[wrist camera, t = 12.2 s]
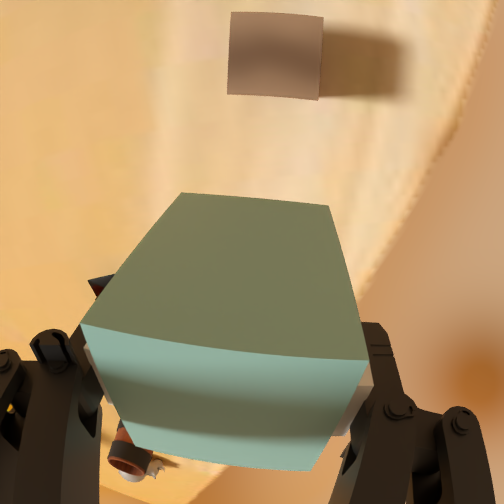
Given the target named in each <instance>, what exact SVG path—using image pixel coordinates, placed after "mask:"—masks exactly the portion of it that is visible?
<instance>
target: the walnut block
mask: <svg viewBox="0 0 504 504" xmlns="http://www.w3.org/2000/svg"><path fill="white" fill-rule="evenodd" d="M322 38H323V17H317V16H308V15H298V14H285V13H268V12H231V21H230V39H229V60H228V83H227V94H232V95H258V96H274V97H287V98H298V99H308V100H317V101H318V97H319V84H320V70H321V55H322Z"/></svg>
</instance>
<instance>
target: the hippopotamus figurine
mask: <svg viewBox="0 0 504 504" xmlns="http://www.w3.org/2000/svg"><path fill="white" fill-rule="evenodd" d="M161 468H162V469H163V470H164V471H165V467H164V466H163V462H162V461H161V460H159V459H155V460H154V461H150V463H149V466H148V468H147V471H146V474H144V475H143V476H135V475H131V474H128V473H125V472H123V471H120V470H119V473H120V475H121V476H122V477H123V478H124V479H126V480H127V481H130V482H139V481H141V480H143V479H144V477H145V476H146V475H149V476H153V478H154V479H156V477H155V476H156V475H157V474H158V472H159V470H161Z"/></svg>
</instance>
